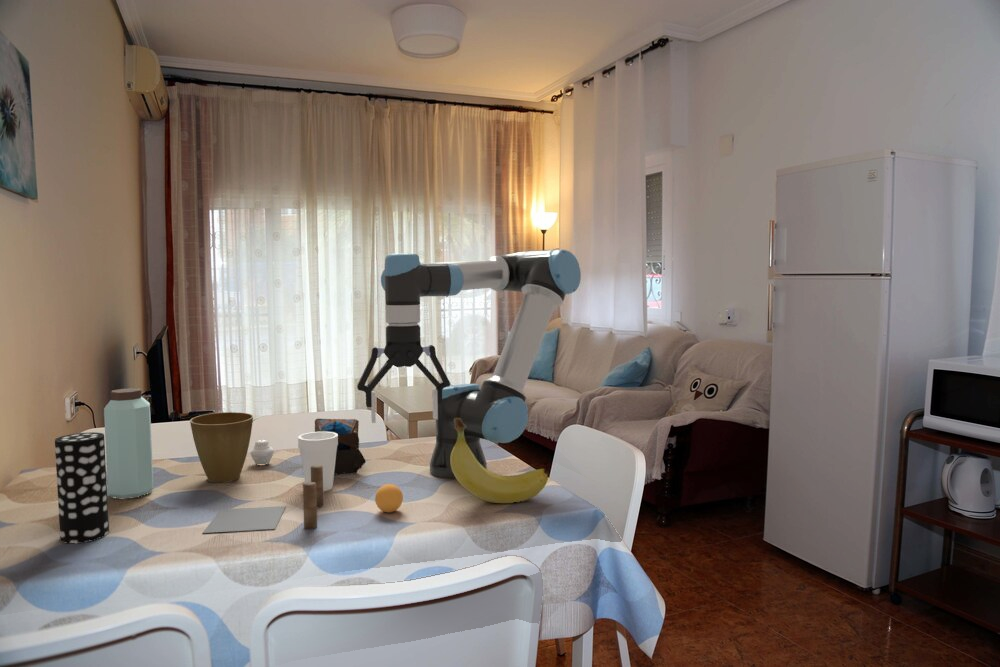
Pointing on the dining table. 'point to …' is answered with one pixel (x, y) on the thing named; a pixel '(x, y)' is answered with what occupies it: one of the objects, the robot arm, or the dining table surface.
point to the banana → (492, 476)
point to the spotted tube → (81, 487)
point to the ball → (389, 498)
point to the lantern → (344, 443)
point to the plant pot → (222, 443)
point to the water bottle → (128, 444)
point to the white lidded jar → (262, 452)
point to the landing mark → (245, 519)
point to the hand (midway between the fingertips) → (404, 420)
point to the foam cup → (319, 455)
